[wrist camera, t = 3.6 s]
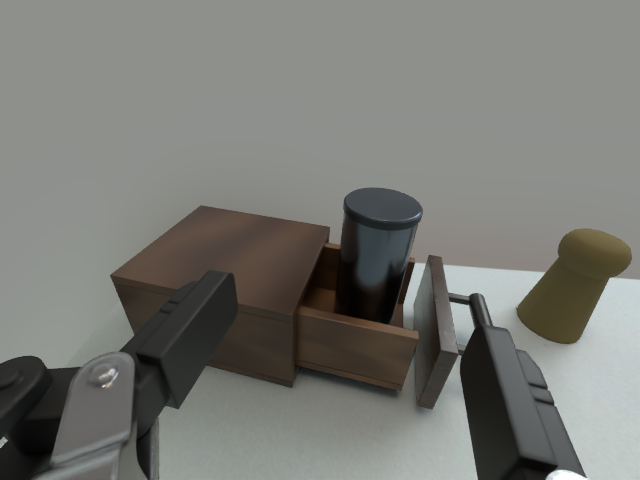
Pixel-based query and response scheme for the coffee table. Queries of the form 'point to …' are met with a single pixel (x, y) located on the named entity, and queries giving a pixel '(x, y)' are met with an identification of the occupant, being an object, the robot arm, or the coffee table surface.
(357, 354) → the drawer
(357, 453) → the coffee table surface
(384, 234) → the slate tube
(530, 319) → the pepper shaker
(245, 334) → the cabinet
